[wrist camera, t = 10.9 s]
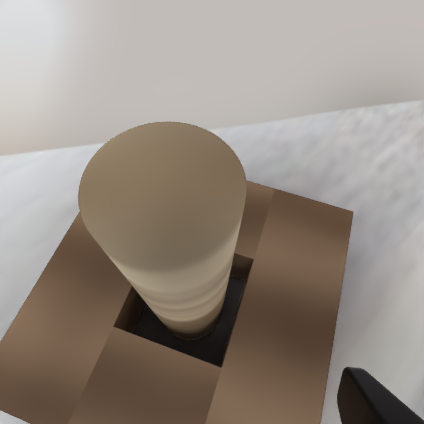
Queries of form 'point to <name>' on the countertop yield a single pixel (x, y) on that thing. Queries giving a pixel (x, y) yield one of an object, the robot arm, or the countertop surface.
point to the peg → (168, 218)
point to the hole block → (174, 360)
